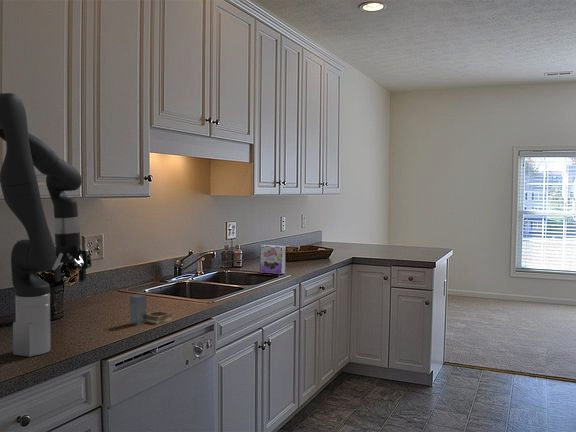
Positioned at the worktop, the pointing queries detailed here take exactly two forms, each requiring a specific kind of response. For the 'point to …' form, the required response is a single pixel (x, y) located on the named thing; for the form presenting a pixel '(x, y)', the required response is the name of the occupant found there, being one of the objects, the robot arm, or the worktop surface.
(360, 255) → the worktop surface
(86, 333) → the worktop surface
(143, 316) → the grey tall block
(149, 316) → the socket
